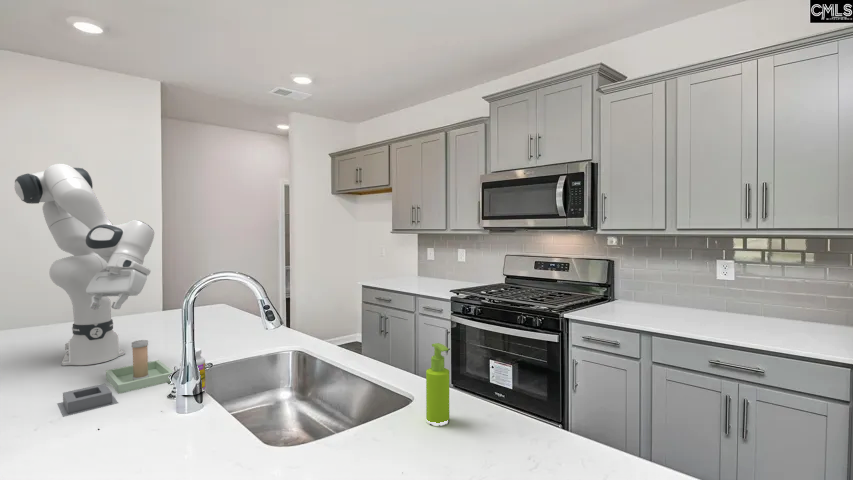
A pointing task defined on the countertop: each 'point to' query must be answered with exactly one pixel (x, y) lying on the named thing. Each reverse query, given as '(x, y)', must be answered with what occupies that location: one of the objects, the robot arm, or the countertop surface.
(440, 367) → the soap dispenser
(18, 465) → the countertop surface
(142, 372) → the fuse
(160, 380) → the parts tray
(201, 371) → the supplement bottle
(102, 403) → the socket block
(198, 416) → the countertop surface
